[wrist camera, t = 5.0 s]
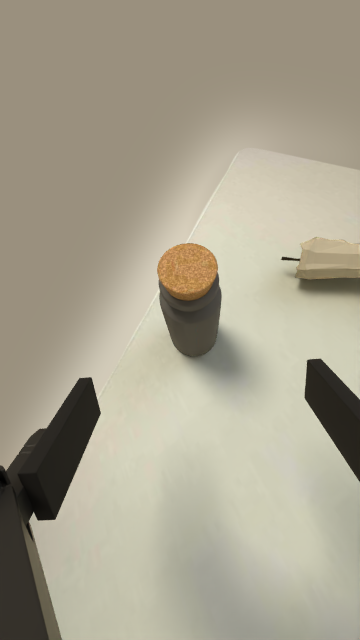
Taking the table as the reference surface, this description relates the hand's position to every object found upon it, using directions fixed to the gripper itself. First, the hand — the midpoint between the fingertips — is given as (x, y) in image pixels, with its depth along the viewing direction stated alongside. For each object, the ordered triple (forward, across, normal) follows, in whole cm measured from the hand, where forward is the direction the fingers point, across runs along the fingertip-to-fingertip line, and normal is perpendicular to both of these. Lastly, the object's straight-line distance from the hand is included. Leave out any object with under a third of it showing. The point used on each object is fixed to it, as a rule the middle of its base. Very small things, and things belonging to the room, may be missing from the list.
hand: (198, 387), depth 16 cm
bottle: (+18, 0, +4) cm, 18 cm away
